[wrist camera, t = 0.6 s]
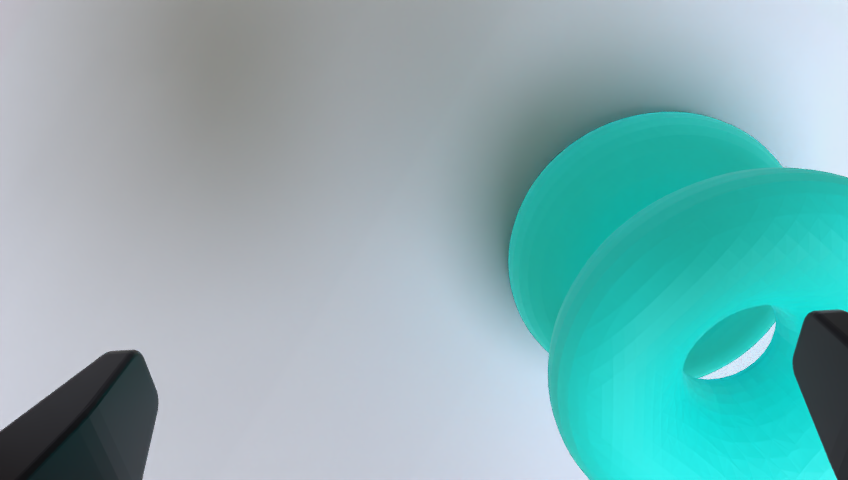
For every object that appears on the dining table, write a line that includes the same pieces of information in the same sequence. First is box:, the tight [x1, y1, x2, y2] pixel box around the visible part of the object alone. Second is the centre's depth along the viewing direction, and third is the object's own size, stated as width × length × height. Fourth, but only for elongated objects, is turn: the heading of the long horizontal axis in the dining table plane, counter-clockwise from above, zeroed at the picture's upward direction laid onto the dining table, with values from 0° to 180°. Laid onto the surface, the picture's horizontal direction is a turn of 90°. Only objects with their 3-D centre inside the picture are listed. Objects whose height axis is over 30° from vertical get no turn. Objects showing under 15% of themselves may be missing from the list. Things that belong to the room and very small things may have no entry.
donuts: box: [508, 112, 848, 480], centre depth 20 cm, size 10×10×10 cm
